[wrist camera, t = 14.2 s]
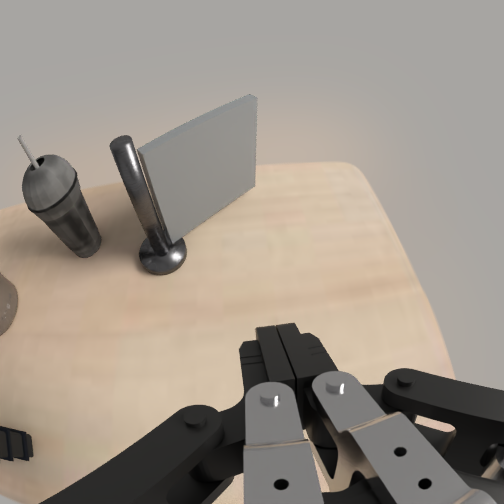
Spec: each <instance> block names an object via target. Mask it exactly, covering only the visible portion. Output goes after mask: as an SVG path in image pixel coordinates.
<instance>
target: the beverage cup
mask: <svg viewBox="0 0 504 504" xmlns="http://www.w3.org/2000/svg"><path fill="white" fill-rule="evenodd" d="M17 139H18V140H19V142H20V144H21V146H22V147H23V149H24V151H25V152H26V154H27V156H28V157H29V159H30V161H31V162H32V163H31V164H30V165H29V167H28V168H27V170H26V172H25V174H24V177H23V183H22V191H23V195H24V199H25V202H26V204H27V206H28V209H29V210H30V211H31V212H33V213H34V214H35V215H36V216H38V217H39V218H40V219H41V220H43V221H44V222H45V224H46V225H47V226H48V227H49V228H50V229H51V230H52V231H53V232H54V233H55V234H56V235H57V236H58V237H59V238H60V239H61V240H62V241H63V242H64V243H65V244H66V245H67V246H68V247H69V248H70V249H71V250H72V251H73V252H74V253H76V255H78V256H79V257H82V258H86V257H89V256H92V255H93V254H94V253H96V251H97V250H98V249H99V247H100V245H101V236H100V234H99V232H98V228H97V226H96V224H95V222H94V220H93V218H92V215H91V213H90V211H89V209H88V206H87V204H86V202H85V199H84V197H83V195H82V192H81V190H80V185H79V181H78V178H77V172H76V171H75V169H74V168H73V167H72V166H71V165H70V163H69V162H68V161H67V160H65V159H64V158H61V157H59V156H57V155H44V156H41V157H39V158H37V159H36V160H35V159H34V157H33V155H32V153H31V152H30V150H29V148H28V147H27V145H26V143H25V141H24V139H23V138H22V136H21V135H20V136H19V137H18V138H17Z"/></svg>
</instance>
